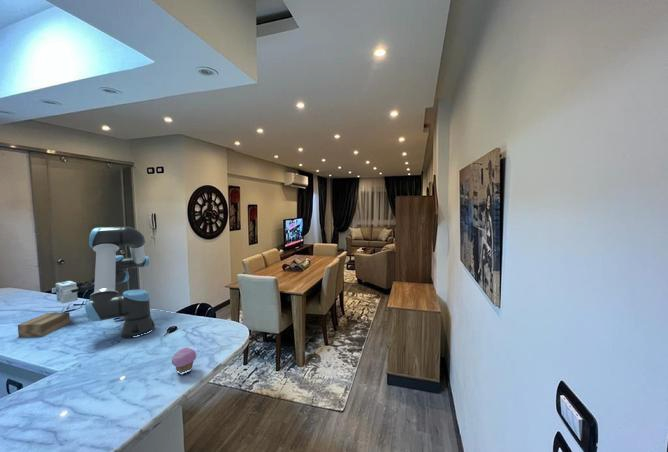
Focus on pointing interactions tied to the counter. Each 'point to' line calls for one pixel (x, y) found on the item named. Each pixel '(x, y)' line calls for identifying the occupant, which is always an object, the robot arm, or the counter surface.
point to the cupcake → (184, 359)
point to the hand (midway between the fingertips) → (57, 291)
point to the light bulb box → (65, 286)
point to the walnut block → (43, 324)
